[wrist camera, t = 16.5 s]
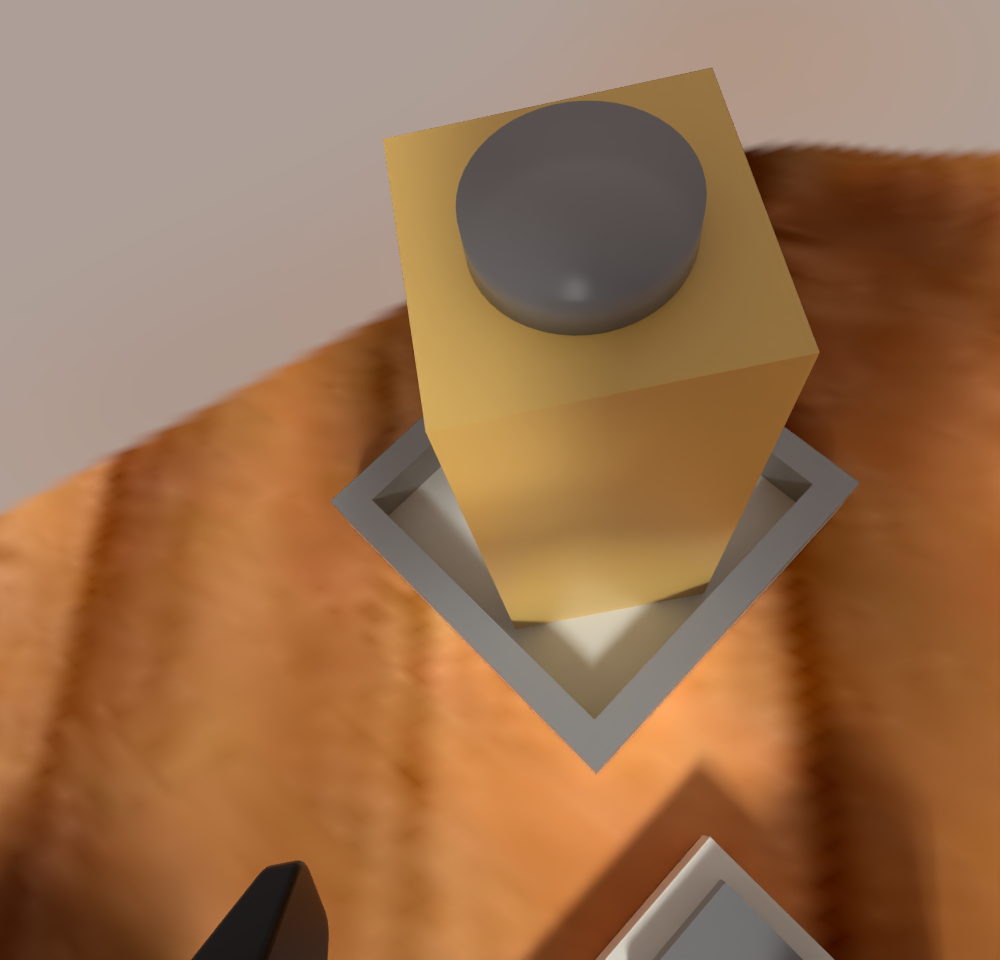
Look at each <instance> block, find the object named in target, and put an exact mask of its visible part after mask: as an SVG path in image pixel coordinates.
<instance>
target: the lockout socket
mask: <svg viewBox="0 0 1000 960" xmlns="http://www.w3.org/2000/svg"><path fill="white" fill-rule="evenodd" d="M859 483H860V482H859V481H857V480H856V479H854V478H853V477H852V476H850V475H849V474H848V473H846V472H845V471H844V470H842V469H841V468H840V467H838V466H837V465H836V464H834V463H833V462H831V461H830V460H829V459H827V458H826V457H825V456H823V455H822V454H821V453H819V452H818V451H817V450H815V449H814V448H813V447H811V446H810V445H808V444H807V443H806V442H804V441H803V440H802V439H800V438H799V437H798V436H796V435H795V434H794V433H792V432H791V431H790V430H788V429H787V428H786V427H784V428H783V430H782V432H781V434H780V436H779V438H778V440H777V442H776V444H775V447H774V449H773V451H772V453H771V455H770V457H769V459H768V461H767V463H766V465H765V467H764V469H763V471H762V474H761V476H760V478H759V480H758V482H757V484H756V486H755V488H754V490H753V492H752V494H751V496H750V499H749V501H748V503H747V505H746V507H745V509H744V511H743V513H742V515H741V517H740V519H739V521H738V523H737V526H736V528H735V530H734V532H733V534H732V536H731V538H730V540H729V542H728V544H727V546H726V548H725V551H724V553H723V555H722V557H721V559H720V561H719V563H718V565H717V567H716V569H715V571H714V573H713V575H712V578H711V580H710V582H709V584H708V586H707V588H706V590H705V592H704V593H703V594H698V595H692V596H687V597H682V598H677V599H671V600H666V601H661V602H656V603H650V604H645V605H640V606H635V607H629V608H624V609H619V610H614V611H608V612H603V613H598V614H593V615H588V616H582V617H577V618H572V619H567V620H561V621H556V622H551V623H546V624H540V625H535V626H530V627H525V628H519V629H515V627H514V625H513V623H512V621H511V618H510V616H509V614H508V612H507V610H506V607H505V605H504V603H503V601H502V599H501V597H500V594H499V592H498V590H497V588H496V586H495V583H494V581H493V579H492V577H491V575H490V572H489V570H488V568H487V566H486V564H485V561H484V559H483V557H482V555H481V553H480V550H479V548H478V546H477V544H476V542H475V539H474V537H473V535H472V533H471V531H470V528H469V526H468V524H467V522H466V520H465V517H464V515H463V513H462V511H461V509H460V506H459V504H458V502H457V500H456V498H455V495H454V493H453V491H452V489H451V487H450V484H449V482H448V480H447V478H446V476H445V474H444V471H443V469H442V467H441V465H440V463H439V460H438V458H437V456H436V454H435V452H434V449H433V447H432V445H431V443H430V441H429V438H428V436H427V434H426V431H425V424H424V417H422V418H421V419H419V420H418V421H417V422H416V423H415V424H414V425H413V426H412V427H411V428H410V429H409V430H407V431H406V432H405V433H404V434H403V435H402V436H401V437H400V438H399V439H398V440H397V441H396V442H394V443H393V444H392V445H391V446H390V447H389V448H388V449H387V450H386V451H385V452H384V453H382V454H381V455H380V456H379V457H378V458H377V459H376V460H375V461H374V462H373V463H372V464H370V465H369V466H368V467H367V468H366V469H365V470H364V471H363V472H362V473H361V474H360V475H358V476H357V477H356V478H355V479H354V480H353V481H352V482H351V483H350V484H349V485H348V486H346V487H345V488H344V489H343V490H342V491H341V492H340V493H339V494H338V495H337V496H336V497H334V498H333V499H332V500H331V503H332V504H333V505H334V506H335V507H336V508H337V509H338V511H339V512H340V513H341V514H342V515H343V516H344V518H345V519H346V520H347V521H348V522H349V523H350V525H351V526H352V527H353V528H354V529H355V530H356V531H357V532H358V533H359V534H360V535H361V536H362V537H363V538H364V539H365V540H366V541H367V542H368V543H369V544H370V545H371V546H372V547H373V548H374V549H375V550H376V551H377V552H378V553H379V554H380V555H381V556H382V557H383V558H384V559H385V560H386V561H387V563H388V564H389V565H390V566H391V567H392V568H393V569H394V570H395V571H396V572H397V573H398V574H399V575H400V576H401V577H402V578H403V579H404V580H405V581H406V582H407V583H408V584H409V585H410V586H411V587H412V588H413V589H414V590H415V591H416V592H417V593H418V594H419V595H420V596H421V597H422V598H423V599H424V600H425V601H426V602H427V603H428V604H429V605H430V606H431V607H432V608H433V609H434V610H435V611H436V612H437V613H438V614H439V615H440V616H441V617H442V619H443V620H444V621H445V622H446V623H447V624H448V625H449V626H450V627H451V628H452V629H453V630H454V631H455V632H456V633H457V634H458V635H459V636H460V637H461V638H462V639H463V640H464V641H465V642H466V643H467V644H468V645H469V646H470V647H471V648H472V649H473V650H474V651H475V652H476V653H477V654H478V655H479V656H480V657H481V658H482V659H483V660H484V661H485V662H486V663H487V664H488V665H489V666H490V667H491V668H492V669H493V670H494V671H495V672H496V674H497V675H498V676H499V677H500V678H501V679H502V680H503V681H504V682H505V683H506V684H507V685H508V686H509V687H510V688H511V689H512V690H513V691H514V692H515V693H516V694H517V695H518V696H519V697H520V698H521V699H522V700H523V701H524V702H525V703H526V704H527V705H528V706H529V707H530V708H531V709H532V710H533V711H534V712H535V713H536V714H537V715H538V716H539V717H540V718H541V719H542V720H543V721H544V722H545V723H546V724H547V725H548V726H549V727H550V729H551V730H552V731H553V732H554V733H555V734H556V735H557V736H558V737H559V738H560V739H561V740H562V741H563V742H564V743H565V744H566V745H567V746H568V747H569V748H570V749H571V750H572V751H573V752H574V753H575V754H576V755H577V756H578V757H579V758H580V759H581V760H582V761H583V762H584V763H585V764H586V765H587V766H588V767H589V768H590V769H591V770H592V771H593V772H594V773H595V774H596V775H598V773H599V772H600V771H601V770H602V769H603V768H604V767H605V766H606V765H607V764H608V762H609V761H610V760H611V759H612V758H613V757H614V756H615V755H616V754H617V753H618V751H619V750H620V749H621V748H622V747H623V746H624V745H625V744H626V743H627V742H628V740H629V739H630V738H631V737H632V736H633V735H634V734H635V733H636V732H637V731H638V729H639V728H640V727H641V726H642V725H643V724H644V723H645V722H646V721H647V720H648V718H649V717H650V716H651V715H652V714H653V713H654V712H655V711H656V710H657V709H658V707H659V706H660V705H661V704H662V703H663V702H664V701H665V700H666V699H667V698H668V697H669V695H670V694H671V693H672V692H673V691H674V690H675V689H676V688H677V687H678V686H679V684H680V683H681V682H682V681H683V680H684V679H685V678H686V677H687V676H688V675H689V673H690V672H691V671H692V670H693V669H694V668H695V667H696V666H697V665H698V664H699V662H700V661H701V660H702V659H703V658H704V657H705V656H706V655H707V654H708V653H709V651H710V650H711V649H712V648H713V647H714V646H715V645H716V644H717V643H718V642H719V640H720V639H721V638H722V637H723V636H724V635H725V634H726V633H727V632H728V631H729V629H730V628H731V627H732V626H733V625H734V624H735V623H736V622H737V621H738V620H739V619H740V617H741V616H742V615H743V614H744V613H745V612H746V611H747V610H748V609H749V608H750V606H751V605H752V604H753V603H754V602H755V601H756V600H757V599H758V598H759V597H760V595H761V594H762V593H763V592H764V591H765V590H766V589H767V588H768V587H769V586H770V584H771V583H772V582H773V581H774V580H775V579H776V578H777V577H778V576H779V575H780V573H781V572H782V571H783V570H784V569H785V568H786V567H787V566H788V565H789V564H790V562H791V561H792V560H793V559H794V558H795V557H796V556H797V555H798V554H799V553H800V551H801V550H802V549H803V548H804V547H805V546H806V545H807V544H808V543H809V542H810V540H811V539H812V538H813V537H814V536H815V535H816V534H817V533H818V532H819V531H820V530H821V528H822V527H823V526H824V525H825V524H826V523H827V522H828V521H829V520H830V519H831V517H832V516H833V515H834V514H835V513H836V512H837V511H838V509H839V508H840V507H841V506H842V504H843V503H844V502H845V501H846V499H847V498H848V497H849V496H850V494H851V493H852V492H853V491H854V489H855V488H856V487H857V486H858V484H859Z"/></svg>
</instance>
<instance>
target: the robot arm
mask: <svg viewBox="0 0 1000 960" xmlns="http://www.w3.org/2000/svg"><path fill="white" fill-rule="evenodd" d="M328 942H329V930H328V920H327V916H326V912H325V909H324V907H323V904H322V902H321V899H320V896H319V894H318V891H317V889H316V886H315V884H314V881H313V878H312V876H311V873H310V871H309V869H308V867H307V865H306V864H305V863H304V862H302V861H292V862H286V863H281V864H276V865H271V866H268V867H266V868H265V869H264V870H263V871H262V872H261V873H260V874H259V875H258V876H257V878H256V879H255V880H254V881H253V883H252V884H251V885H250V886H249V888H248V889H247V890H246V891H245V893H244V894H243V895H242V896H241V898H240V899H239V900H238V901H237V903H236V904H235V905H234V906H233V908H232V909H231V910H230V912H229V913H228V914H227V915H226V917H225V918H224V919H223V920H222V922H221V923H220V924H219V925H218V927H217V928H216V929H215V930H214V932H213V933H212V934H211V935H210V937H209V938H208V939H207V940H206V942H205V943H204V944H203V945H202V947H201V948H200V949H199V951H198V952H197V953H196V954H195V956H194V957H193V958H192V959H191V960H328Z"/></svg>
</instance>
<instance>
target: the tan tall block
mask: <svg viewBox="0 0 1000 960" xmlns="http://www.w3.org/2000/svg"><path fill="white" fill-rule="evenodd" d="M383 142H384V149H385V155H386V162H387V169H388V176H389V183H390V190H391V197H392V204H393V211H394V217H395V224H396V231H397V238H398V244H399V252H400V259H401V266H402V273H403V279H404V286H405V293H406V300H407V307H408V314H409V321H410V328H411V335H412V342H413V348H414V355H415V362H416V369H417V376H418V383H419V390H420V397H421V404H422V410H423V417H424V424H425V431H426V434H427V436H428V438H429V441H430V443H431V445H432V447H433V449H434V452H435V454H436V456H437V458H438V460H439V463H440V465H441V467H442V469H443V471H444V474H445V476H446V478H447V480H448V482H449V484H450V487H451V489H452V491H453V493H454V495H455V498H456V500H457V502H458V504H459V506H460V509H461V511H462V513H463V515H464V517H465V520H466V522H467V524H468V526H469V528H470V531H471V533H472V535H473V537H474V539H475V542H476V544H477V546H478V548H479V550H480V553H481V555H482V557H483V559H484V561H485V564H486V566H487V568H488V570H489V572H490V575H491V577H492V579H493V581H494V583H495V586H496V588H497V590H498V592H499V594H500V597H501V599H502V601H503V603H504V605H505V607H506V610H507V612H508V614H509V616H510V618H511V621H512V623H513V625H514V627H515V629H519V628H525V627H530V626H535V625H540V624H546V623H551V622H556V621H561V620H567V619H572V618H577V617H582V616H588V615H593V614H598V613H603V612H608V611H614V610H619V609H624V608H629V607H635V606H640V605H645V604H650V603H656V602H661V601H666V600H671V599H677V598H682V597H687V596H692V595H698V594H703V593H704V592H705V590H706V588H707V586H708V584H709V582H710V580H711V578H712V575H713V573H714V571H715V569H716V567H717V565H718V563H719V561H720V559H721V557H722V555H723V553H724V551H725V548H726V546H727V544H728V542H729V540H730V538H731V536H732V534H733V532H734V530H735V528H736V526H737V523H738V521H739V519H740V517H741V515H742V513H743V511H744V509H745V507H746V505H747V503H748V501H749V499H750V496H751V494H752V492H753V490H754V488H755V486H756V484H757V482H758V480H759V478H760V476H761V474H762V471H763V469H764V467H765V465H766V463H767V461H768V459H769V457H770V455H771V453H772V451H773V449H774V447H775V444H776V442H777V440H778V438H779V436H780V434H781V432H782V430H783V428H784V426H785V424H786V422H787V419H788V417H789V415H790V413H791V411H792V409H793V407H794V405H795V403H796V401H797V399H798V397H799V395H800V392H801V390H802V388H803V386H804V384H805V382H806V380H807V378H808V376H809V374H810V372H811V370H812V367H813V365H814V363H815V361H816V359H817V357H818V355H819V353H820V352H819V349H818V347H817V344H816V342H815V339H814V336H813V334H812V331H811V328H810V326H809V323H808V320H807V318H806V315H805V312H804V310H803V307H802V304H801V302H800V299H799V296H798V294H797V291H796V289H795V286H794V283H793V281H792V278H791V275H790V273H789V270H788V267H787V265H786V262H785V259H784V257H783V254H782V251H781V249H780V246H779V243H778V241H777V238H776V236H775V233H774V230H773V228H772V225H771V222H770V220H769V217H768V214H767V212H766V209H765V206H764V204H763V201H762V198H761V196H760V193H759V190H758V188H757V185H756V183H755V180H754V177H753V175H752V172H751V169H750V167H749V164H748V161H747V159H746V156H745V153H744V151H743V148H742V145H741V143H740V140H739V138H738V135H737V132H736V130H735V127H734V124H733V122H732V119H731V116H730V114H729V111H728V108H727V106H726V103H725V100H724V98H723V95H722V93H721V90H720V87H719V85H718V82H717V79H716V77H715V74H714V71H713V69H712V68H709V69H703V70H699V71H695V72H690V73H685V74H680V75H676V76H672V77H667V78H662V79H658V80H653V81H649V82H643V83H639V84H635V85H630V86H625V87H620V88H616V89H611V90H607V91H602V92H597V93H593V94H588V95H584V96H579V97H575V98H570V99H565V100H560V101H556V102H551V103H547V104H542V105H537V106H533V107H528V108H524V109H519V110H514V111H510V112H505V113H501V114H496V115H491V116H487V117H483V118H477V119H473V120H468V121H464V122H459V123H455V124H450V125H445V126H441V127H436V128H431V129H427V130H422V131H417V132H413V133H409V134H404V135H399V136H395V137H390V138H385V139H383Z"/></svg>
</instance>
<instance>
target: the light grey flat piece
mask: <svg viewBox="0 0 1000 960" xmlns="http://www.w3.org/2000/svg"><path fill="white" fill-rule="evenodd" d="M595 960H834V959H833V958H832V957H831V956H830V955H829V954H828V953H827V952H826V951H825V950H824V949H823V948H822V947H821V946H820V945H819V944H818V943H817V942H816V941H815V940H814V939H813V938H812V937H811V936H810V935H809V934H808V933H807V932H806V931H805V930H804V929H803V928H802V927H801V926H800V925H799V924H798V923H797V922H796V921H795V920H794V919H793V918H792V917H791V916H790V915H789V914H788V913H787V912H786V911H785V910H784V909H783V908H782V907H781V906H780V905H779V904H778V903H777V902H776V901H775V900H774V899H773V898H772V897H771V896H770V895H769V894H768V893H767V892H766V891H765V890H764V889H763V888H762V887H761V886H760V885H759V884H757V883H756V882H755V881H754V880H753V879H752V878H751V877H750V876H749V875H748V874H747V873H746V872H745V871H744V870H743V869H742V868H741V867H740V866H739V865H738V864H737V863H736V862H735V861H734V860H733V859H732V858H731V857H730V856H729V855H728V854H727V853H726V852H725V851H724V850H723V849H722V848H721V847H720V846H719V845H718V844H717V843H716V842H715V841H714V840H713V839H712V838H711V837H709V836H704V835H702V836H701V837H700V838H699V840H698V841H697V842H696V843H695V844H694V845H693V847H692V848H691V849H690V850H689V851H688V852H687V853H686V855H685V856H684V857H683V858H682V859H681V860H680V862H679V863H678V864H677V865H676V866H675V867H674V869H673V870H672V871H671V872H670V873H669V874H668V876H667V877H666V878H665V879H664V880H663V881H662V883H661V884H660V885H659V886H658V887H657V888H656V890H655V891H654V892H653V893H652V894H651V895H650V896H649V898H648V899H647V900H646V901H645V902H644V903H643V905H642V906H641V907H640V908H639V909H638V910H637V912H636V913H635V914H634V915H633V916H632V917H631V919H630V920H629V921H628V922H627V923H626V924H625V926H624V927H623V928H622V929H621V930H620V931H619V933H618V934H617V935H616V936H615V937H614V938H613V940H612V941H611V942H610V943H609V944H608V945H607V946H606V948H605V949H604V950H603V951H602V952H601V953H600V955H599V956H598V957H597V958H596V959H595Z"/></svg>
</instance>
